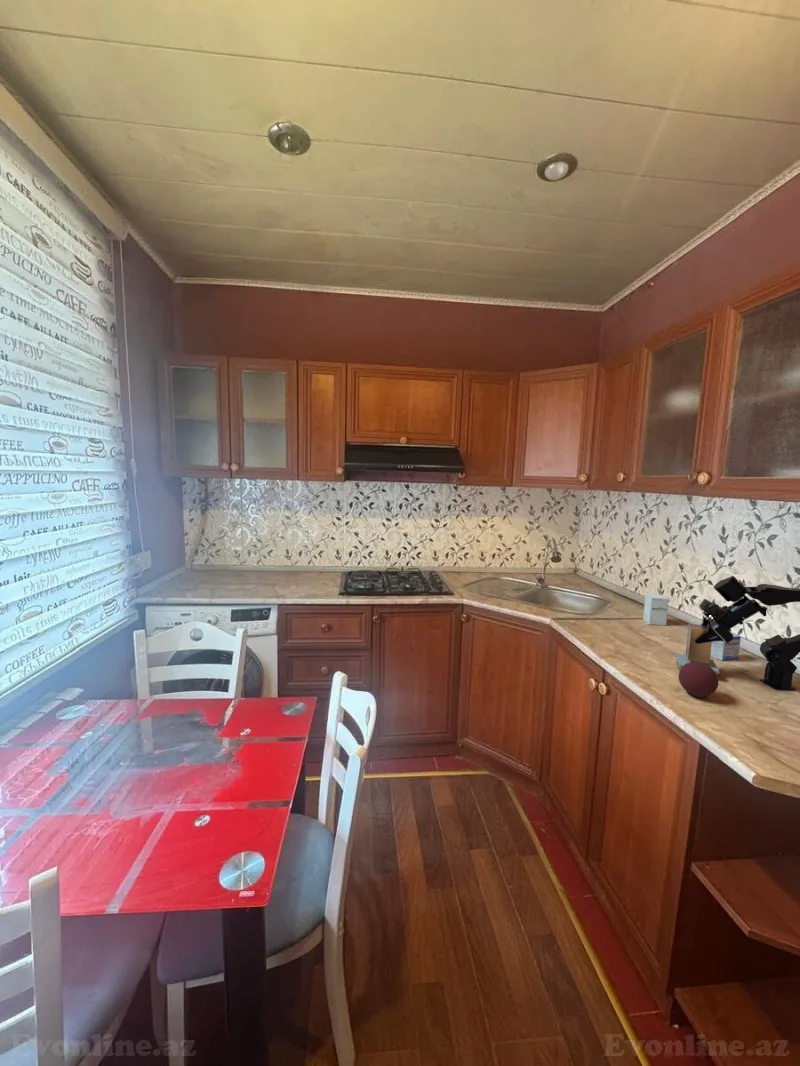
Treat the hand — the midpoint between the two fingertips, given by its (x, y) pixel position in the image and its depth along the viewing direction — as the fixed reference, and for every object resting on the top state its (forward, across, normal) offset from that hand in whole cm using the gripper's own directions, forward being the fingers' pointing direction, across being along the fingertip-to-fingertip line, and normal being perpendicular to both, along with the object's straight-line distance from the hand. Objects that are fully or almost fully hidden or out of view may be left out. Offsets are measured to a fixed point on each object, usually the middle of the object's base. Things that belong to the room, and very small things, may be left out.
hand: (694, 639), depth 150 cm
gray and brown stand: (+7, 0, +9) cm, 11 cm away
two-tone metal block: (+4, 0, +6) cm, 7 cm away
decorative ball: (+9, +20, +7) cm, 23 cm away
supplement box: (+13, -53, +3) cm, 54 cm away
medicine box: (-1, -19, +17) cm, 26 cm away
